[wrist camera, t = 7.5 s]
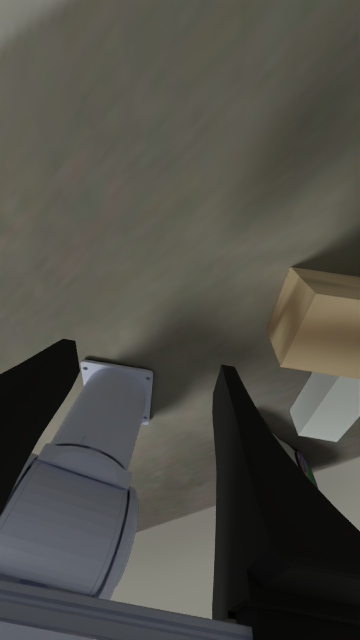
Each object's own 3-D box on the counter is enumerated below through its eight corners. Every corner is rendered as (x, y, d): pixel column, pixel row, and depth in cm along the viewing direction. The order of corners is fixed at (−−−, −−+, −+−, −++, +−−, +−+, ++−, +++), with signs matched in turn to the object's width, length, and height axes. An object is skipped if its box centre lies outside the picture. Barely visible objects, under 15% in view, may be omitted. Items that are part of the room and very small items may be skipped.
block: (331, 338, 21) (362, 379, 17) (265, 328, 21) (280, 366, 17) (367, 277, 18) (417, 308, 14) (290, 266, 18) (315, 293, 14)
